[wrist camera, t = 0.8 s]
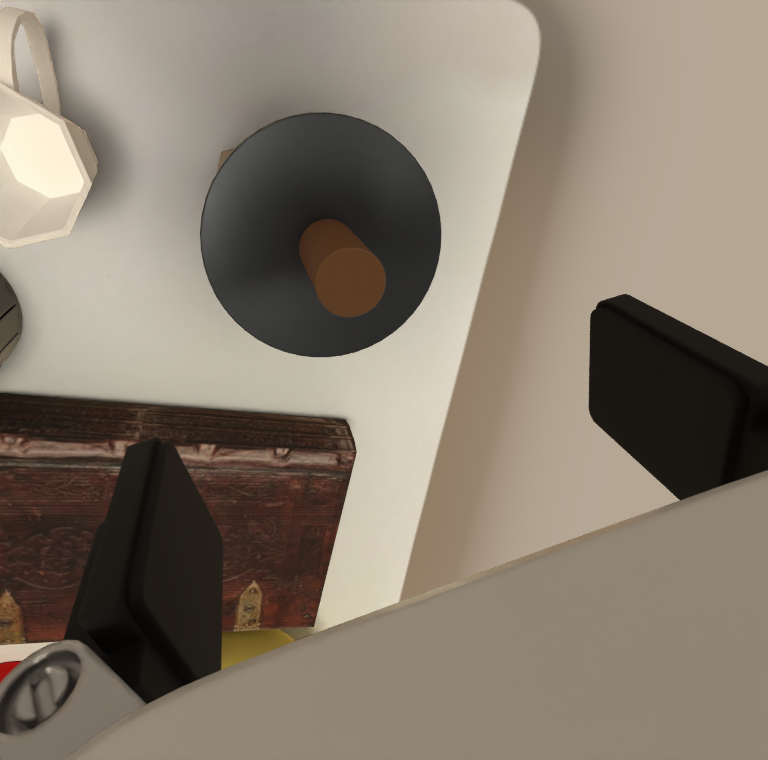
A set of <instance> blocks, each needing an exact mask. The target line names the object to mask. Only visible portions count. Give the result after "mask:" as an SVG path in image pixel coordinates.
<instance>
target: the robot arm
mask: <svg viewBox="0 0 768 760" xmlns="http://www.w3.org/2000/svg"><path fill="white" fill-rule="evenodd" d="M589 411H590V415H591V417H592V419H593V421H594V422H595V423H596V424H597V425H598V426H599V427H600V428H602V429H603V430H604V431H605V432H606V433H607V434H608V435H609V436H610V437H611V438H613V439H614V440H615V441H616V442H617V443H618V444H619V445H620V446H621V447H622V448H623V449H624V450H626V451H627V452H628V453H629V454H630V455H631V456H632V457H633V458H634V459H636V460H637V461H638V462H639V463H640V464H641V465H642V466H643V467H644V468H645V469H647V471H649V472H650V473H651V474H652V475H653V476H654V477H655V478H656V479H657V480H658V481H660V482H661V483H662V484H663V485H664V486H665V487H666V488H667V489H668V490H669V491H670V492H672V493H673V494H674V495H675V496H676V497H677V498H678V499H679V500H680V501H677V502H675V503H672V504H669V505H666V506H664V507H661V508H658V509H655V510H652V511H650V512H647V513H644V514H641V515H638V516H635V517H633V518H630V519H627V520H624V521H621V522H619V523H616V524H613V525H610V526H607V527H605V528H602V529H599V530H596V531H593V532H591V533H588V534H585V535H582V536H580V537H577V538H574V539H571V540H569V541H566V542H563V543H560V544H557V545H555V546H552V547H549V548H546V549H544V550H541V551H538V552H535V553H533V554H530V555H527V556H524V557H522V558H519V559H516V560H513V561H511V562H508V563H505V564H503V565H500V566H497V567H494V568H491V569H489V570H486V571H483V572H480V573H478V574H475V575H472V576H469V577H467V578H464V579H461V580H458V581H456V582H453V583H450V584H447V585H445V586H442V587H439V588H437V589H434V590H431V591H428V592H426V593H423V594H421V595H418V596H415V597H412V598H410V599H407V600H404V601H401V602H399V603H396V604H393V605H391V606H388V607H385V608H382V609H380V610H377V611H374V612H372V613H369V614H366V615H363V616H361V617H358V618H355V619H353V620H350V621H347V622H345V623H342V624H339V625H336V626H334V627H331V628H328V629H326V630H323V631H320V632H317V633H315V634H312V635H310V636H307V637H304V638H302V639H299V640H297V641H294V642H292V643H289V644H286V645H284V646H281V647H279V648H276V649H273V650H271V651H268V652H266V653H263V654H261V655H258V656H255V657H253V658H250V659H248V660H245V661H242V662H240V663H237V664H235V665H232V666H230V667H227V668H225V669H222V670H221V663H222V604H223V541H222V537H221V534H220V531H219V529H218V527H217V525H216V523H215V521H214V519H213V518H212V516H211V514H210V512H209V510H208V508H207V506H206V504H205V502H204V501H203V499H202V497H201V495H200V493H199V491H198V489H197V487H196V485H195V484H194V482H193V480H192V478H191V476H190V474H189V472H188V470H187V468H186V467H185V465H184V463H183V461H182V459H181V457H180V455H179V453H178V451H177V450H176V448H175V446H174V444H173V443H172V442H171V441H166V442H163V441H162V440H161V439H160V438H158V437H155V438H152V439H148V440H145V441H142V442H139V443H135V444H132V445H129V446H128V447H127V449H126V451H125V455H124V458H123V461H122V465H121V468H120V472H119V475H118V479H117V482H116V485H115V489H114V492H113V496H112V499H111V502H110V506H109V509H108V513H107V516H106V520H105V521H103V522H102V523H101V524H100V525H99V526H98V529H97V531H96V534H95V537H94V540H93V543H92V547H91V550H90V553H89V556H88V560H87V563H86V566H85V570H84V573H83V576H82V579H81V583H80V586H79V589H78V592H77V596H76V599H75V602H74V605H73V609H72V612H71V615H70V619H69V622H68V625H67V628H66V632H65V635H64V638H63V641H59V642H56V643H52V644H49V645H47V646H45V647H43V648H41V649H39V650H38V651H36V652H34V653H32V654H31V655H30V656H28V657H27V658H26V659H24V660H23V661H22V662H20V663H19V664H18V665H17V666H16V667H15V668H14V669H13V670H12V671H11V672H10V673H9V674H8V675H7V676H6V677H5V678H4V679H3V680H2V681H1V683H0V760H768V366H766V365H764V364H762V363H760V362H758V361H756V360H754V359H752V358H750V357H749V356H746V355H745V354H743V353H741V352H739V351H737V350H735V349H733V348H731V347H729V346H727V345H725V344H723V343H721V342H719V341H717V340H715V339H713V338H712V337H710V336H708V335H706V334H704V333H702V332H700V331H698V330H696V329H694V328H692V327H690V326H688V325H686V324H684V323H682V322H680V321H678V320H676V319H674V318H673V317H671V316H669V315H667V314H665V313H663V312H661V311H659V310H657V309H655V308H653V307H651V306H649V305H647V304H645V303H643V302H641V301H639V300H638V299H636V298H634V297H632V296H630V295H627V294H623V295H619V296H616V297H613V298H609V299H606V300H603V301H600V302H599V303H598V304H597V306H596V309H595V310H593V311H592V313H591V317H590V366H589Z"/></svg>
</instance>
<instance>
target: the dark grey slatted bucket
mask: <svg viewBox="0 0 768 760" xmlns="http://www.w3.org/2000/svg"><path fill="white" fill-rule="evenodd" d="M21 327H22V317H21V311H20V306H19V303H18V301H17V298H16V296H15V294H14V292H13V290H12V288H11V287H10V285H9V284H8V282H7V281H6V280H5V278H4V277H3V276H2V275H1V274H0V366H1V365H2V364H3V363H4V362H5V361H6V360H7V359H8V357H9V356H10V355H11V354H12V351H13V349H14V348H15V346H16V344H17V342H18V340H19V337H20V334H21Z"/></svg>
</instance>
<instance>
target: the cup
mask: <svg viewBox="0 0 768 760" xmlns="http://www.w3.org/2000/svg"><path fill="white" fill-rule="evenodd" d="M20 23H22V25H23V27H24V30H25V32H26V35H27V38H28V41H29V44H30V48H31V51H32V55H33V58H34V62H35V66H36V70H37V74H38V78H39V82H40V88H41V93H42V98H43V105H42V104H41V103H39V102H37V101H35V100H34V99H32V98H30V97H28V96H26V95H24V94H21V93H19V87H18V81H17V74H16V66H15V59H14V40H15V37H16V34H17V31H18V28H19V25H20ZM97 164H98V160H97V158H96V155H95V153H94V151H93V148H92V146H91V143H90V141H89V139H88V136H87V134H86V132H85V131H84V130H83V129H81V128H80V127H79V126H78V125H76V124H74V123H73V122H71V121H69V120H68V119H66V118H64V117H62V116H61V105H60V98H59V92H58V86H57V80H56V75H55V71H54V66H53V62H52V58H51V54H50V50H49V45H48V41H47V38H46V35H45V33H44V30H43V27H42V24H41V22H40V21H39V19H38V18H37V17H36V15H35V14H34V13H32V12H28V11H24V10H20V9H16V8H11V7H5V8H3V9H1V10H0V244H2V245H4V246H6V247H8V248H13V247H18V246H22V245H27V244H31V243H35V242H40V241H44V240H49V239H53V238H58V237H62V236H66V235H69V234H70V232H71V230H72V227H73V225H74V223H75V221H76V219H77V216H78V214H79V212H80V210H81V208H82V205H83V203H84V201H85V199H86V197H87V194H88V192H89V190H90V188H91V186H92V183H93V181H94V178H95V176H96V174H97V172H98V169H97Z"/></svg>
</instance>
